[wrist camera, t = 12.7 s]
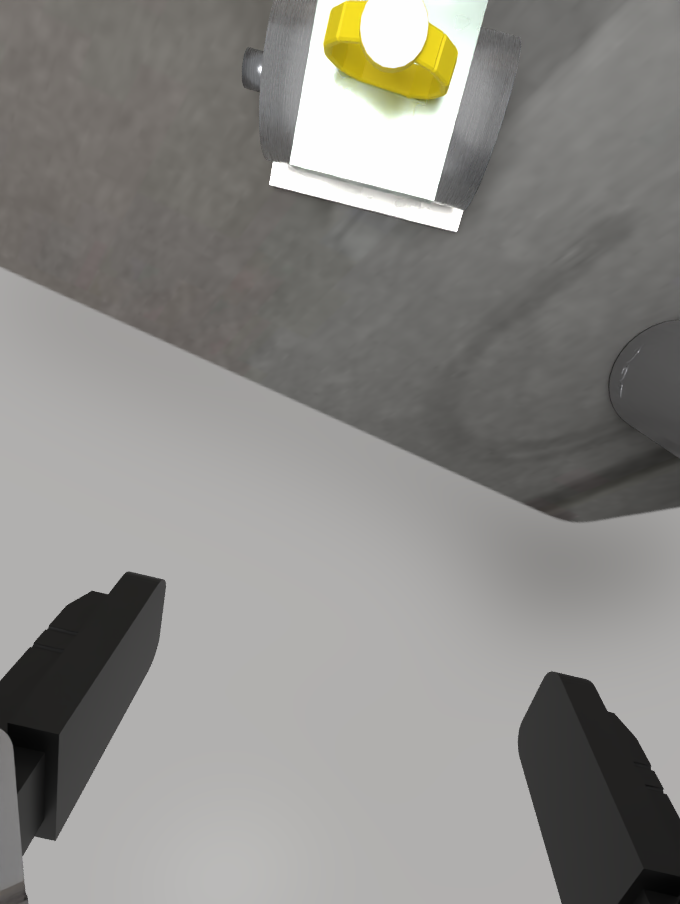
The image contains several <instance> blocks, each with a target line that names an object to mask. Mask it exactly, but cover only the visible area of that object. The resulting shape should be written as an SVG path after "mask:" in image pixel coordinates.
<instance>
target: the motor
mask: <svg viewBox="0 0 680 904" xmlns="http://www.w3.org/2000/svg"><path fill="white" fill-rule="evenodd" d="M345 1H349V0H274V2H273V6H272V10H271V14H270V18H269V23H268V28H267V33H266V39H265V46H264V51H261V50H257V49H253V48H249V47H248V48H247V49H246V51H245V54H244V58H243V65H242V82H243V86H244V88H246V89H250V90H254V91H258V92H260V97H259V131H260V142H261V148H262V152H263V155H264V157H265V159H266V160H268V161H271V162H273V166H272V172H271V179H270V185H271V186H273V187H275V188H279V189H283V190H287V191H291V192H295V193H299V194H303V195H307V196H311V197H315V198H319V199H323V200H327V201H331V202H335V203H339V204H343V205H347V206H351V207H354V208H358V209H362V210H366V211H370V212H374V213H378V214H382V215H386V216H390V217H394V218H398V219H402V220H406V221H410V222H414V223H418V224H422V225H426V226H430V227H434V228H438V229H441V230H445V231H449V232H453V233H454V232H457V230H458V226H459V223H460V219H461V216H462V213H463V210H466V209H467V207H468V206H469V204H470V203H471V201H472V199H473V197H474V195H475V193H476V191H477V189H478V187H479V184H480V182H481V180H482V177H483V175H484V172H485V170H486V167H487V165H488V162H489V160H490V157H491V154H492V151H493V149H494V146H495V143H496V140H497V137H498V134H499V131H500V128H501V125H502V122H503V118H504V115H505V112H506V109H507V105H508V102H509V98H510V95H511V91H512V87H513V83H514V79H515V75H516V71H517V67H518V62H519V56H520V50H521V38H520V37H519V36H515V35H511V34H507V33H503V32H500V31H496V30H492V29H488V28H484V27H481V24H482V21H483V17H484V13H485V10H486V6H487V2H488V0H423V2H424V4H425V7H426V9H427V12H428V21H429V23H431V24H432V25H434V26H436V27H437V28H439V29H440V30H442V31H443V33H444V34H446V35H447V36H448V37H449V39H450V40H451V41H452V43H453V44H454V45H455V47H456V48H457V50H458V57H457V63H456V66H455V69H454V73H453V76H452V79H451V82H450V85H449V89H448V92H447V94H446V95H444V96H441V97H438V98H435V99H430V100H427V99H412V98H410V99H409V98H406V97H407V96H404V95H400V94H397V93H394V92H391V91H388V90H385V89H382V88H379V87H376V86H373V85H370V84H367V83H364V82H361V81H357V80H355V79H354V78H352V77H350V76H349V75H347V74H345V73H344V72H342V71H340V70H339V69H338V68H336V67H335V66H334V65H333V64H332V63H331V62H330V61H329V59H328V58H327V57H326V56H325V54H324V48H323V42H324V37H325V33H326V28H327V24H328V20H329V15H330V11H331V9H332V8H333V7H335V6H337V5H339V4H341V3H343V2H345ZM362 1H367V0H362ZM414 64H416V63H414Z"/></svg>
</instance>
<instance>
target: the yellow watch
mask: <svg viewBox="0 0 680 904" xmlns="http://www.w3.org/2000/svg"><path fill="white" fill-rule="evenodd" d="M323 48H324V54H325V56H326V57H327V58H328V59H329V61H330V62H331V63H332V64H333V65H334V66H335V67H336V68H338V69H339V70H340V71H342V72H344V73H345V74H347V75H349V76H350V77H352V78H354V79H355V80H357V81H361V82H364V83H367V84H370V85H373V86H376V87H379V88H382V89H385V90H388V91H391V92H394V93H397V94H400V95H404V96H407V97H406V98H409V99H410V98H412V99H427V100H430V99H435V98H438V97H441V96H444V95H446V94H447V92H448V89H449V85H450V82H451V79H452V76H453V73H454V69H455V66H456V63H457V57H458V50H457V48H456V47H455V45H454V44H453V43H452V41H451V40H450V39H449V37H448V36H447V35H446V34H444V33H443V31H442V30H440V29H439V28H437V27H436V26H434V25H432V24H431V23H429V21H428V12H427V9H426V7H425V4H424V2H423V0H367V1H362V0H349V1H345V2H343V3H341V4H339V5H337V6H335V7H333V8H332V9H331V11H330V15H329V20H328V24H327V28H326V33H325V37H324V42H323ZM414 63H416V64H414Z"/></svg>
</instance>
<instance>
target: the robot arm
mask: <svg viewBox="0 0 680 904" xmlns="http://www.w3.org/2000/svg"><path fill="white" fill-rule="evenodd" d="M609 392H610V399H611V402H612V404H613V407H614V409H615V411H616V412H617V413H618V415H619V416H620V418H622V419H623V420H624V421H625V422H627V423H628V424H629V425H630V426H632V427H633V428H635V429H636V430H638V431H639V432H641V433H642V434H644V435H645V436H647V437H648V438H650V439H651V440H653V441H654V442H656V443H657V444H659V445H660V446H662V447H663V448H665V449H666V450H668V451H669V452H671V453H672V454H674V455H675V456H677V457H678V458H680V320H675V321H669V322H664V323H661V324H658V325H656V326H653V327H651V328H649V329H647V330H645V331H644V332H642V333H640V334H639V335H638V336H637V337H635V338H634V339H633V340H632V341H631V342H630V343H629V344H628V345H627V346H626V347H625V348H624V350H623V351H622V352H621V353H620V355H619V357H618V358H617V360H616V362H615V364H614V366H613V369H612V373H611V376H610V384H609ZM165 589H166V582H165V580H163V579H159V578H155V577H150V576H146V575H142V574H138V573H133V572H126V573H125V574H124V575H123V576H122V578H121V579H120V580H119V581H118V583H117V584H116V585H115V586H114V588H113V589H112V590H111V591H110V593H109V594H104V593H99V592H95V591H91V592H89V593H88V594H86V595H84V596H82V597H81V598H79V599H77V600H75V601H74V602H72V603H70V604H68V605H67V606H66V607H65V608H64V609H63V610H62V611H61V613H60V614H59V615H58V616H57V617H56V618H55V619H54V621H53V622H52V623H51V624H50V625H49V628H48V629H47V630H45V631H44V632H43V633H42V634H41V635H40V637H39V638H38V639H37V640H36V641H35V642H34V645H33V647H30V648H29V649H28V650H27V651H26V652H25V653H24V655H23V656H22V657H21V658H20V659H19V660H18V661H17V662H16V664H15V665H14V666H13V667H12V668H11V669H10V670H9V672H8V673H7V674H6V675H5V676H4V677H3V678H2V679H1V681H0V904H28V898H27V895H26V893H25V884H24V873H23V861H22V856H23V855H24V853H25V851H26V850H27V848H28V846H29V844H30V843H31V841H32V839H33V838H34V836H36V837H40V838H45V839H49V840H54V841H56V839H57V837H58V835H59V833H60V831H61V830H62V828H63V826H64V824H65V822H66V821H67V819H68V817H69V815H70V813H71V811H72V810H73V808H74V806H75V804H76V802H77V800H78V799H79V797H80V795H81V793H82V791H83V789H84V788H85V786H86V784H87V782H88V780H89V778H90V777H91V775H92V773H93V771H94V769H95V767H96V766H97V764H98V762H99V760H100V758H101V756H102V754H103V753H104V751H105V749H106V747H107V745H108V743H109V742H110V740H111V738H112V736H113V734H114V733H115V731H116V729H117V727H118V725H119V724H120V722H121V720H122V718H123V716H124V714H125V713H126V711H127V709H128V707H129V705H130V703H131V702H132V700H133V698H134V696H135V694H136V692H137V691H138V689H139V687H140V685H141V683H142V681H143V679H144V678H145V676H146V674H147V672H148V670H149V668H150V666H151V664H152V661H153V659H154V656H155V653H156V649H157V646H158V642H159V637H160V628H161V621H162V613H163V605H164V597H165ZM518 750H519V756H520V760H521V763H522V767H523V770H524V774H525V778H526V781H527V785H528V788H529V791H530V795H531V798H532V802H533V805H534V809H535V812H536V816H537V819H538V822H539V826H540V830H541V833H542V837H543V840H544V843H545V847H546V850H547V854H548V857H549V861H550V864H551V867H552V871H553V875H554V878H555V882H556V885H557V889H558V892H559V895H560V899H561V903H562V904H680V818H679V816H678V814H677V813H676V811H675V809H674V807H673V805H672V803H671V801H670V800H669V798H668V796H667V794H664V793H663V787H662V785H661V783H660V781H659V779H658V777H657V776H656V774H655V772H654V771H652V770H651V765H650V763H649V761H648V759H647V757H646V755H645V753H644V751H643V750H642V748H641V746H640V744H639V742H638V740H637V739H636V738H635V736H634V735H633V734H632V733H631V732H630V731H629V729H628V728H627V727H626V726H625V725H624V724H623V723H622V722H621V720H620V719H619V718H618V717H617V716H616V715H615V714H614V713H611V712H608V711H607V710H606V708H605V706H604V704H603V702H602V700H601V698H600V696H599V694H598V692H597V690H596V688H595V686H594V685H593V683H592V682H591V681H589V680H587V679H583V678H578V677H574V676H570V675H565V674H561V673H557V672H549V673H547V674H546V676H545V677H544V679H543V681H542V683H541V685H540V687H539V689H538V691H537V693H536V695H535V697H534V699H533V701H532V703H531V705H530V707H529V709H528V711H527V713H526V715H525V717H524V719H523V721H522V723H521V726H520V729H519V735H518Z"/></svg>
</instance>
